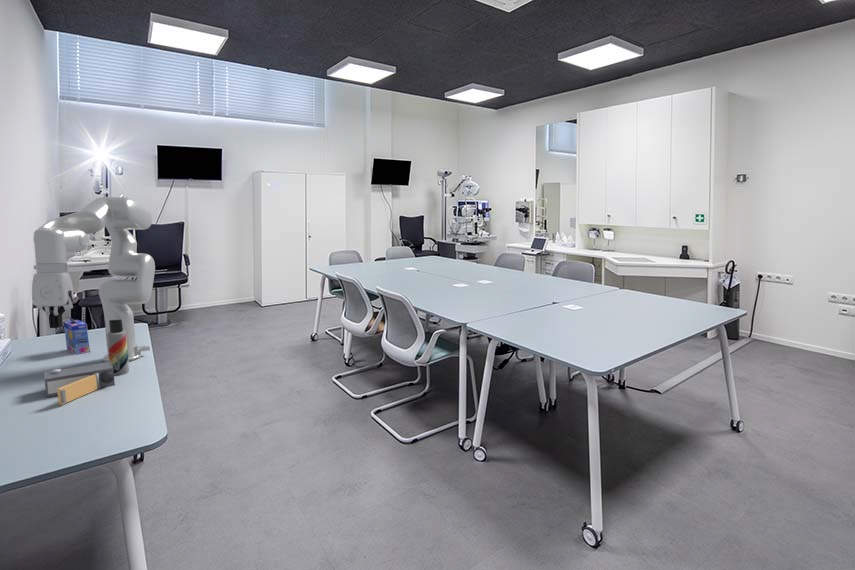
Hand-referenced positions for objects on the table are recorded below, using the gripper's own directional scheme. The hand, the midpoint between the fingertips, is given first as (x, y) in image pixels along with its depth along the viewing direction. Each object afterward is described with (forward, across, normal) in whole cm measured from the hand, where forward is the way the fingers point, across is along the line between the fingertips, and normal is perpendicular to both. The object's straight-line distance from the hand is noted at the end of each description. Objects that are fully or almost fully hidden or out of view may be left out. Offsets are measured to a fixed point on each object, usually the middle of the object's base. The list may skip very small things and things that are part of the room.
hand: (56, 327), depth 146 cm
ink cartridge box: (+20, -28, +44) cm, 56 cm away
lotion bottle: (+21, +5, +21) cm, 30 cm away
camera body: (+22, +1, +7) cm, 23 cm away
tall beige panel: (+22, +7, -1) cm, 23 cm away
